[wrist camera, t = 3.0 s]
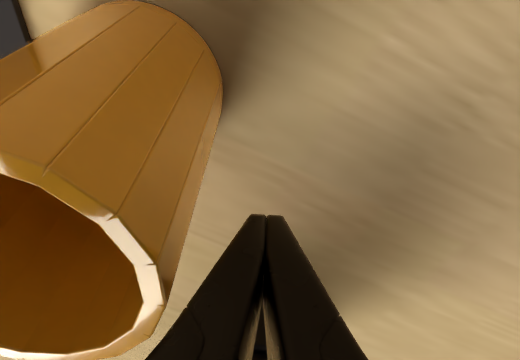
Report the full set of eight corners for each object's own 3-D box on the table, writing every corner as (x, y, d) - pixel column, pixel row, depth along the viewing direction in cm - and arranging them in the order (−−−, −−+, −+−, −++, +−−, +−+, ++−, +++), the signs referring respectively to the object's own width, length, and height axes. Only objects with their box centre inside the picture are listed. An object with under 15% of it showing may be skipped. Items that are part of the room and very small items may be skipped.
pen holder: (226, 156, 19) (180, 370, 10) (86, 150, 19) (-78, 356, 10) (219, 2, 15) (132, 142, 6) (39, -4, 15) (-306, 125, 6)
